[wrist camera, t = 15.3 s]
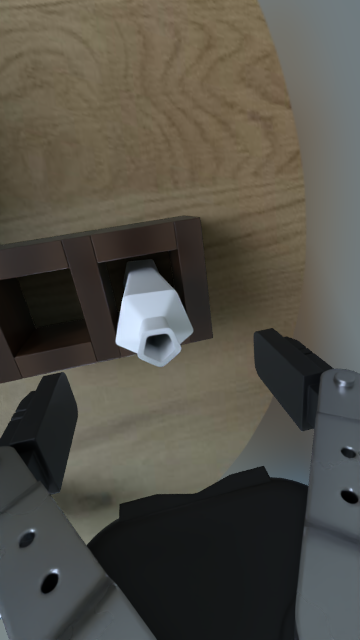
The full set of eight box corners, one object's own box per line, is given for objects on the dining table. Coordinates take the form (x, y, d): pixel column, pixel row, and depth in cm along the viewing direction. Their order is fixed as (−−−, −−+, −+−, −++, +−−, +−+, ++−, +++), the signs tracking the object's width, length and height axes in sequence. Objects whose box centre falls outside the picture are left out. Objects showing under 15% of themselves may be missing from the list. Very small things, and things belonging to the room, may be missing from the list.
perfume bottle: (174, 267, 28) (223, 326, 14) (152, 305, 29) (177, 394, 15) (132, 243, 26) (140, 283, 12) (111, 284, 27) (96, 362, 13)
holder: (184, 215, 26) (200, 217, 20) (197, 314, 30) (213, 338, 24) (-20, 248, 24) (-63, 260, 18) (22, 349, 28) (-4, 384, 22)
